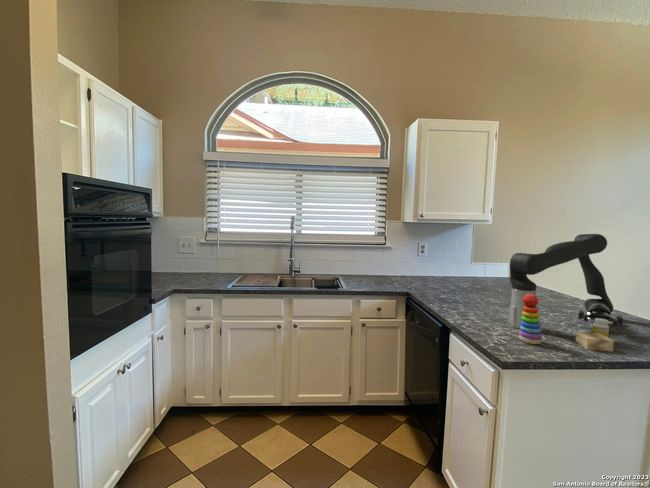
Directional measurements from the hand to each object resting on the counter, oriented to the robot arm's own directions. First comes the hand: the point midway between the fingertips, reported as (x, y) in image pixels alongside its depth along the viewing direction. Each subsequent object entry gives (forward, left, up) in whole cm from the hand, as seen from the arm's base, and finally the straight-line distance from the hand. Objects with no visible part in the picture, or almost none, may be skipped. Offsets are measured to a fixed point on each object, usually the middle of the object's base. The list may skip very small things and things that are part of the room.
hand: (600, 321), depth 129 cm
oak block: (-9, -14, -6) cm, 17 cm away
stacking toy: (-30, -14, -6) cm, 33 cm away
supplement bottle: (-3, -6, -6) cm, 9 cm away
